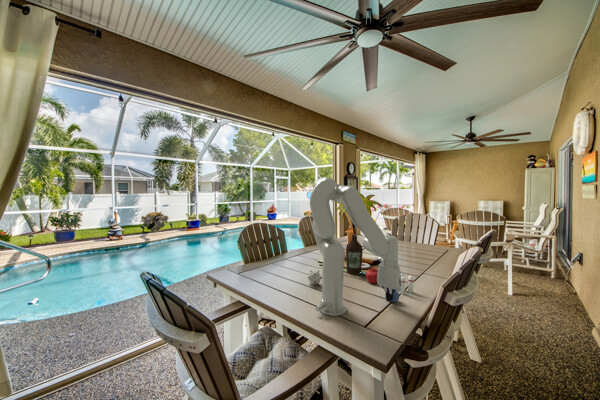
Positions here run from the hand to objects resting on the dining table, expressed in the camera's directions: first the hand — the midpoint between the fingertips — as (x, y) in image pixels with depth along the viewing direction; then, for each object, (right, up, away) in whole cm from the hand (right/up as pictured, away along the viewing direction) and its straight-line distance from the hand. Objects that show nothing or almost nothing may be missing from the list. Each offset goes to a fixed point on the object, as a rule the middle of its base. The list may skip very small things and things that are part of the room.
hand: (389, 300), depth 112 cm
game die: (-34, -1, +24) cm, 41 cm away
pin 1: (+13, -1, +17) cm, 22 cm away
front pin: (+11, -2, +12) cm, 17 cm away
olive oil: (-7, 0, +43) cm, 44 cm away
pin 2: (+16, -2, +14) cm, 21 cm away
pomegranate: (+2, -1, +28) cm, 28 cm away
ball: (+3, +1, +4) cm, 5 cm away
